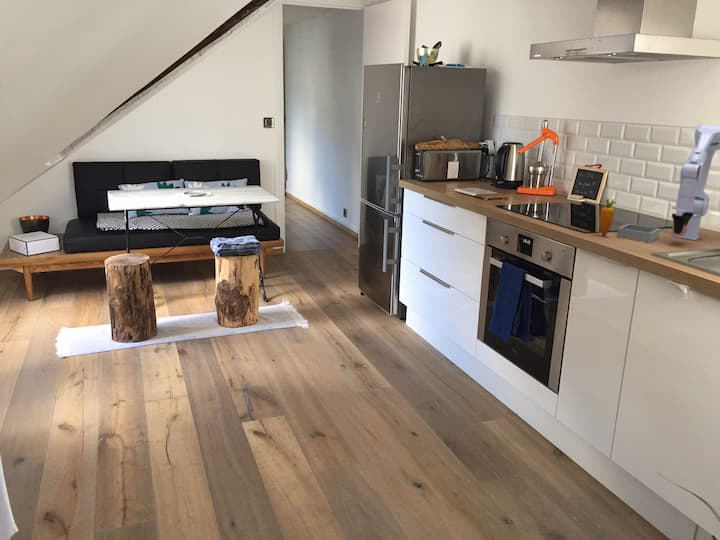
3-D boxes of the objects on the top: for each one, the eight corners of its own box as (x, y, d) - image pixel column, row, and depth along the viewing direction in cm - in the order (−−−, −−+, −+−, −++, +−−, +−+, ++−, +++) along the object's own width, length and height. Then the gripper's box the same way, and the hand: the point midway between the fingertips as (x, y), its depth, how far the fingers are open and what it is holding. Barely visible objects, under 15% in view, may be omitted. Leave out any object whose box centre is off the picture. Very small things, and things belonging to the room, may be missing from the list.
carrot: (607, 235, 236) (613, 197, 232) (612, 237, 231) (619, 199, 227) (594, 234, 236) (601, 196, 232) (600, 237, 231) (606, 198, 227)
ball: (672, 233, 229) (675, 221, 228) (687, 236, 226) (689, 223, 225) (669, 235, 226) (672, 222, 224) (684, 238, 223) (686, 225, 221)
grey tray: (627, 231, 244) (628, 223, 243) (658, 237, 237) (660, 228, 236) (616, 236, 233) (618, 228, 232) (649, 242, 226) (651, 233, 225)
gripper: (679, 193, 230) (672, 227, 233) (670, 196, 219) (662, 233, 223) (699, 195, 225) (692, 231, 229) (691, 199, 215) (683, 236, 218)
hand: (679, 232), depth 226 cm, fingers closed on ball, 5 cm apart
